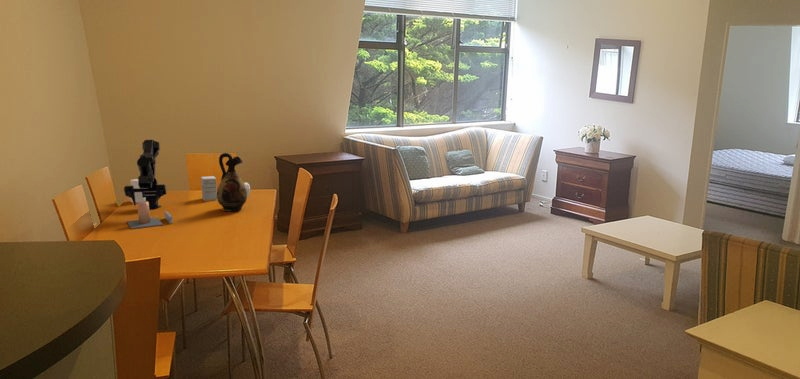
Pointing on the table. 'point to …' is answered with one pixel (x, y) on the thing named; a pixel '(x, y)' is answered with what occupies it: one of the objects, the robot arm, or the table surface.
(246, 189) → the penguin figurine
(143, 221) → the pale pink tall block
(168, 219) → the low divider
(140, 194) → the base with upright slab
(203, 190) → the supplement box
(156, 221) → the mat
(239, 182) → the ceramic jug
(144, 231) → the table surface
